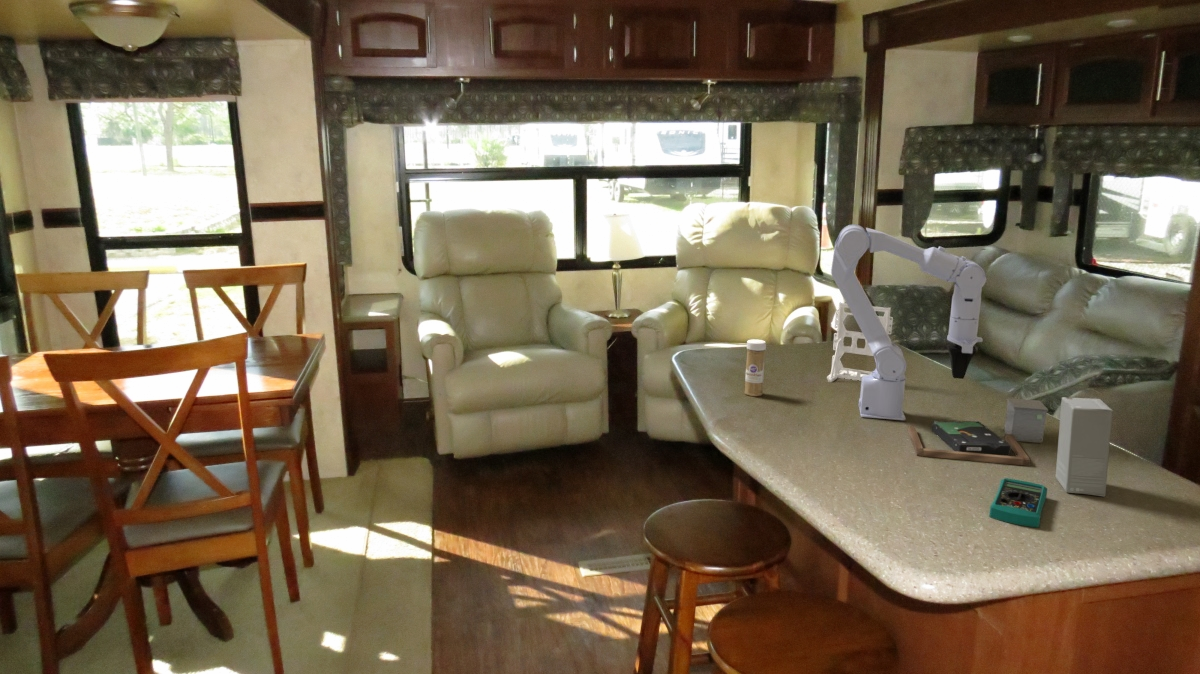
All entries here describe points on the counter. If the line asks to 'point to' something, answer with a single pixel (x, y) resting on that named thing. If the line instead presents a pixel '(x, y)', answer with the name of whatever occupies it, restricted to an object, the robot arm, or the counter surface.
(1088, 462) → the skincare box
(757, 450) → the counter surface
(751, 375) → the sprinkles bottle
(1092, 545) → the counter surface
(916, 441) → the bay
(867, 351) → the white open rack frame
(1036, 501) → the digital multimeter
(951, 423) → the disk drive
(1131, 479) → the counter surface
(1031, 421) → the junction box
